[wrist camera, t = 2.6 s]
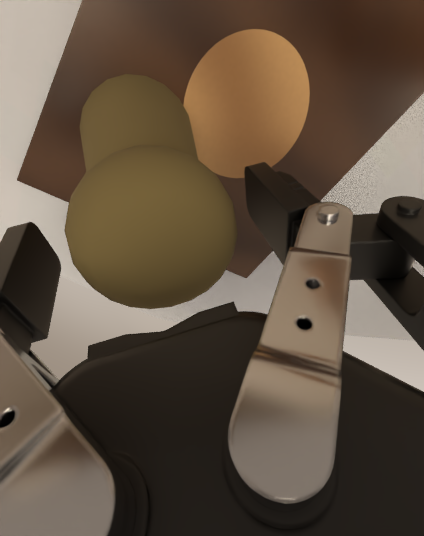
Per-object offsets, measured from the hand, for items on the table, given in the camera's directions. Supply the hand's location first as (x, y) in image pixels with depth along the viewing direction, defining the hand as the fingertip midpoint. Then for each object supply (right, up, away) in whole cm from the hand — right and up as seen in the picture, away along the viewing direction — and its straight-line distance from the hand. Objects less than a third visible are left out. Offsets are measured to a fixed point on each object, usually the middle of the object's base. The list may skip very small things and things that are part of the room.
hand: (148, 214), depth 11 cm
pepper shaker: (-2, +5, +5) cm, 7 cm away
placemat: (+4, +7, +6) cm, 10 cm away
